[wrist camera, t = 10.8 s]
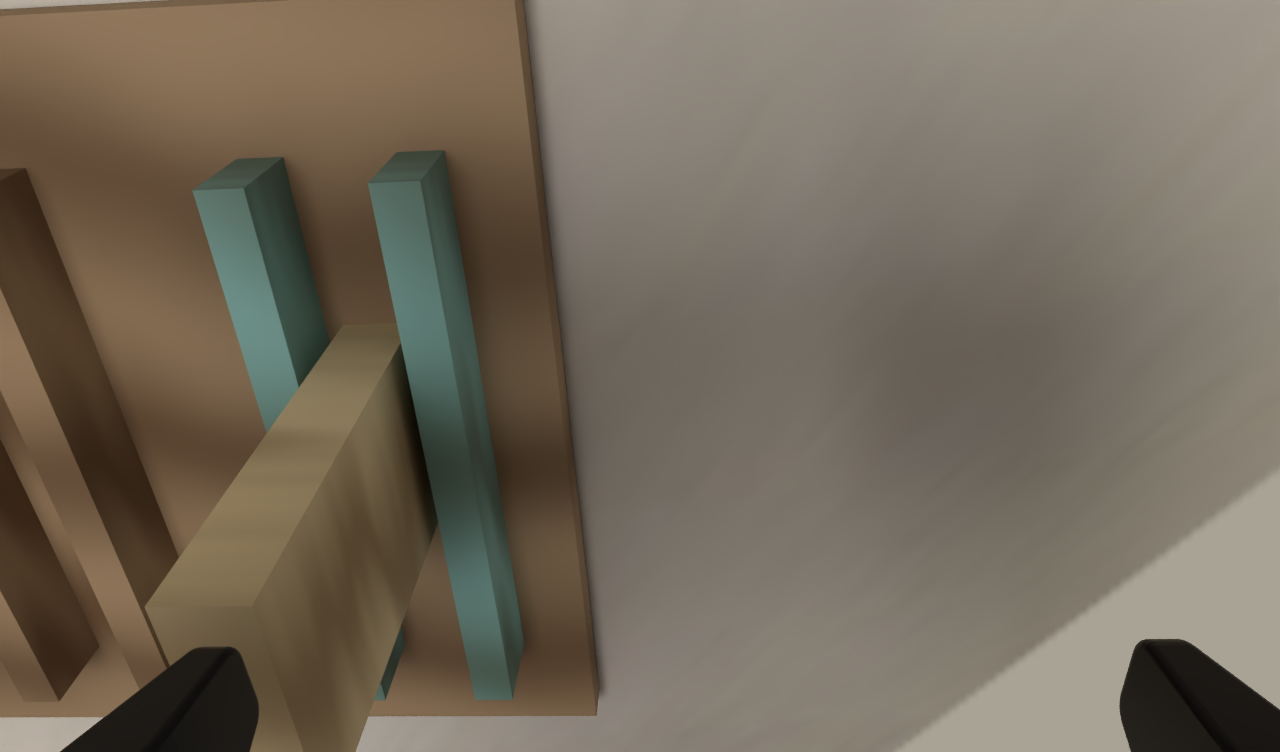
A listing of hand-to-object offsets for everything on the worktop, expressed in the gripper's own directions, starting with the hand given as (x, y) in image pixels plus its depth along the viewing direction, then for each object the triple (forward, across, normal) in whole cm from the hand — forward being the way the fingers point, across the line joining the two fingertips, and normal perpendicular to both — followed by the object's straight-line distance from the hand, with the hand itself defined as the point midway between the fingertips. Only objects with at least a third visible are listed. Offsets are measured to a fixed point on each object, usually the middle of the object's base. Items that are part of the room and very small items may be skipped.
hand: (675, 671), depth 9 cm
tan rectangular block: (+12, +7, +4) cm, 15 cm away
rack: (+13, +16, +5) cm, 21 cm away
